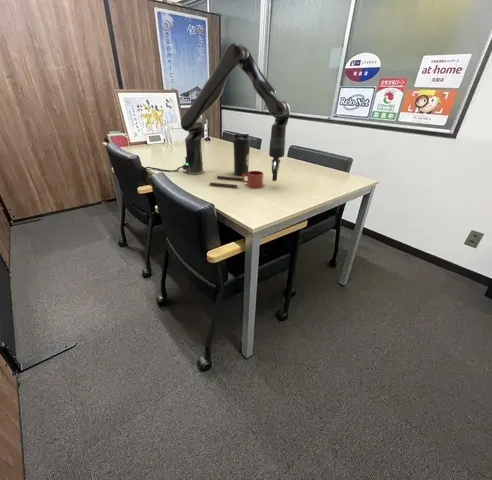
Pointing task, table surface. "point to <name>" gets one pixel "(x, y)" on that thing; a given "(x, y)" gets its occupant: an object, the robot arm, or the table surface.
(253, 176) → the mug
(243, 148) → the water bottle
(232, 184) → the guide rails
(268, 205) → the table surface
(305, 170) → the table surface
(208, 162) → the table surface
